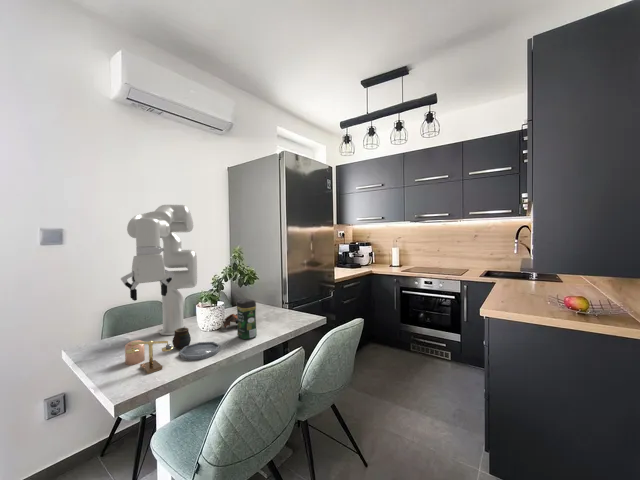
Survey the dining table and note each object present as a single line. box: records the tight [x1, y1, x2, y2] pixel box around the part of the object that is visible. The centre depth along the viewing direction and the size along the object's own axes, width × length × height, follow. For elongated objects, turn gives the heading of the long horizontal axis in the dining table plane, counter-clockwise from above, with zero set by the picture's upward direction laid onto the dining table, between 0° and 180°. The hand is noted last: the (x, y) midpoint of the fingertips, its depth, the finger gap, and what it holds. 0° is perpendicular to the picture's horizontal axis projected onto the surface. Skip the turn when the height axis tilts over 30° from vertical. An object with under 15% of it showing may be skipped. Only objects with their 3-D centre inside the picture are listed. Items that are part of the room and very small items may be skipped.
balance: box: [126, 340, 174, 375], centre depth 103 cm, size 8×16×11 cm, turn 138°
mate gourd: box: [172, 327, 191, 350], centre depth 123 cm, size 7×8×10 cm
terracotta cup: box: [124, 339, 146, 366], centre depth 110 cm, size 6×6×8 cm
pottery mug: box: [222, 313, 238, 329], centre depth 151 cm, size 12×10×8 cm
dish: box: [178, 341, 221, 361], centre depth 117 cm, size 15×15×2 cm
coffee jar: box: [236, 297, 258, 340], centre depth 135 cm, size 10×8×19 cm
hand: (149, 297), depth 103 cm, fingers open, 9 cm apart
